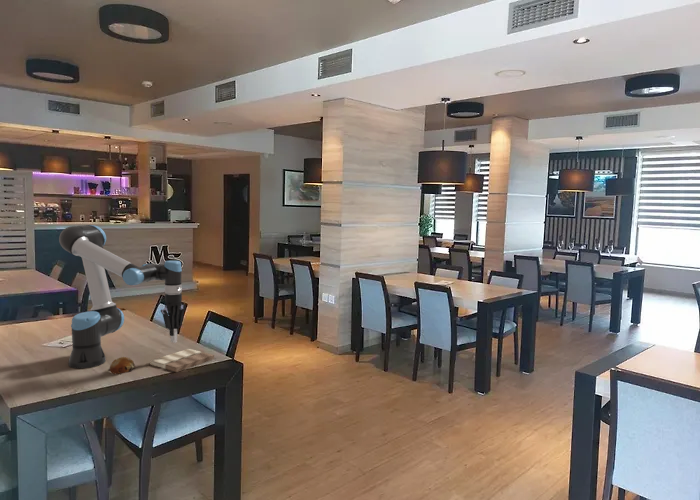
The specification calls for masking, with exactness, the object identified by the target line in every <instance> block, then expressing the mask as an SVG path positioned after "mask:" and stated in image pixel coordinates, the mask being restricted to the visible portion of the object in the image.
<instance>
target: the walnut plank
mask: <svg viewBox="0 0 700 500" xmlns="http://www.w3.org/2000/svg"><path fill="white" fill-rule="evenodd" d="M214 358H215V354H211V353H207V352H201V353H200V354H197V355H193V356H190V357H187V358H184V359H181V360H178V361H175V362H172V363H169V364H166V365H165V370H166V369H167V370H168V371H169V370H171V371H170V372H175V373H179V372H181V371H182V370H183V371H185V370H188V369H189V368H190V369H191V368H194V367H196V366H195V365H197V366H199V365H202V364H205V362H206V363H207V362H208V361H210V362H211V361H214V360H215V359H214ZM198 364H199V365H198ZM193 366H194V367H193ZM178 371H179V372H178Z"/></svg>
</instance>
